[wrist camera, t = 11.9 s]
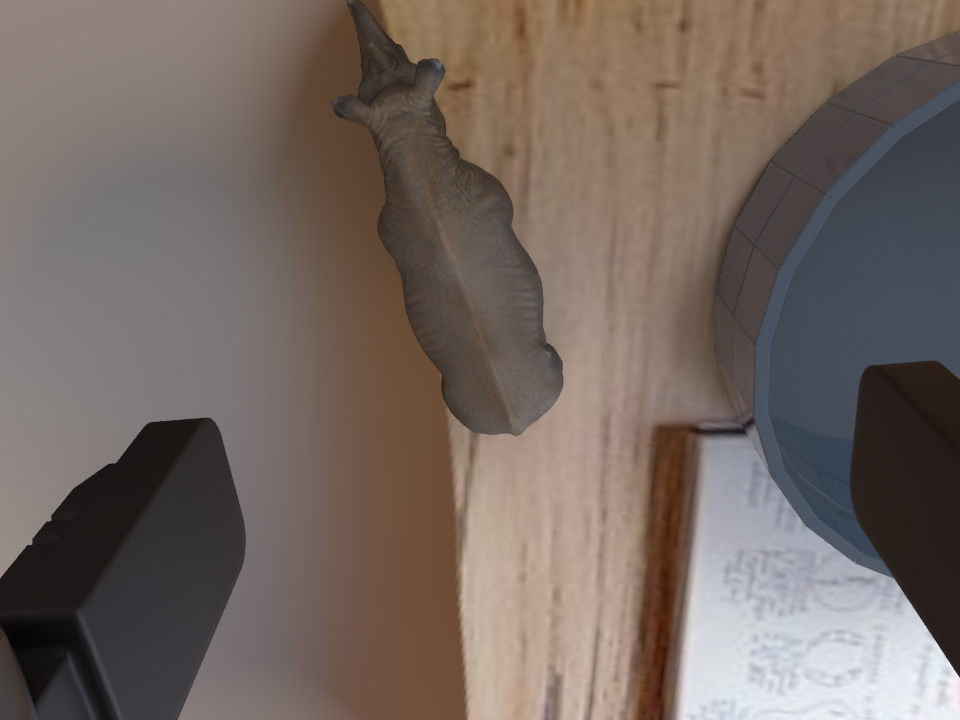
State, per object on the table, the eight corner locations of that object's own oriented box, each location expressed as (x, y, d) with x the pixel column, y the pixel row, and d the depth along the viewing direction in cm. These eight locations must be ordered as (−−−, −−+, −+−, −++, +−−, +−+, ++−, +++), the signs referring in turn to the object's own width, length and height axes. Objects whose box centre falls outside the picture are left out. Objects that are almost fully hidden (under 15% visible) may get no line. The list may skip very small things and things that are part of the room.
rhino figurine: (438, -35, 24) (423, -43, 19) (576, 367, 30) (595, 453, 24) (311, 16, 25) (259, 23, 20) (468, 401, 30) (462, 493, 25)
